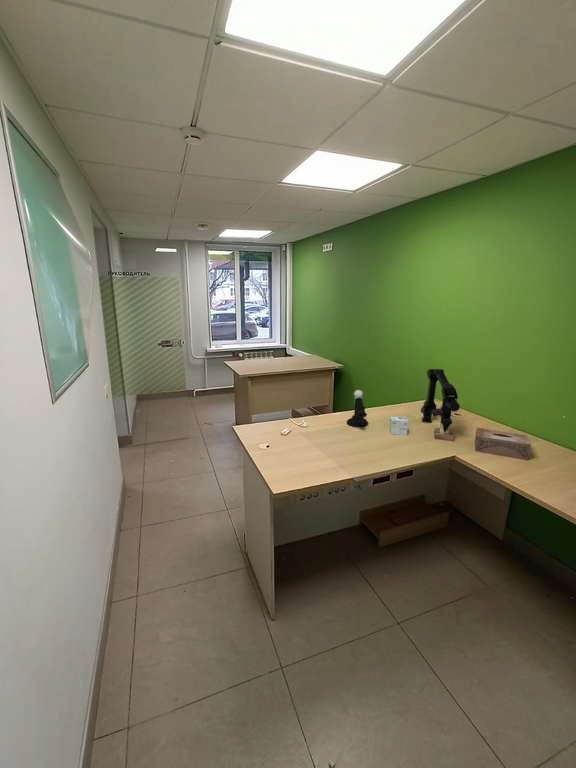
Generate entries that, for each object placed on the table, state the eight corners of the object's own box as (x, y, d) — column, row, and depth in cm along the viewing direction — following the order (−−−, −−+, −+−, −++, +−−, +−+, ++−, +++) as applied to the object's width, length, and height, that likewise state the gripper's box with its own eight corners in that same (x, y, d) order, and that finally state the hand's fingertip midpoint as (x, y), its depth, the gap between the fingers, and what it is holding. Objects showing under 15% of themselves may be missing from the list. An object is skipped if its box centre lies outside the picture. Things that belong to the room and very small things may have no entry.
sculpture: (365, 419, 249) (366, 387, 243) (373, 432, 226) (375, 397, 220) (344, 419, 249) (345, 387, 242) (351, 432, 226) (352, 397, 219)
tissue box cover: (475, 451, 197) (477, 436, 195) (474, 442, 210) (476, 427, 207) (527, 460, 186) (530, 444, 183) (523, 450, 198) (526, 434, 196)
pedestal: (434, 432, 225) (434, 428, 224) (452, 434, 221) (452, 430, 220) (434, 438, 215) (434, 434, 214) (453, 441, 211) (453, 437, 210)
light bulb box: (404, 431, 227) (406, 416, 224) (407, 435, 220) (408, 420, 218) (388, 431, 228) (389, 416, 225) (390, 435, 222) (391, 419, 219)
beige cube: (439, 430, 220) (440, 421, 218) (447, 431, 218) (448, 422, 217) (439, 433, 216) (440, 424, 214) (448, 434, 214) (449, 425, 212)
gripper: (433, 400, 223) (430, 422, 227) (433, 409, 207) (431, 432, 211) (451, 402, 219) (448, 424, 223) (453, 411, 203) (450, 435, 207)
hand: (444, 428), depth 216 cm, fingers open, 9 cm apart
